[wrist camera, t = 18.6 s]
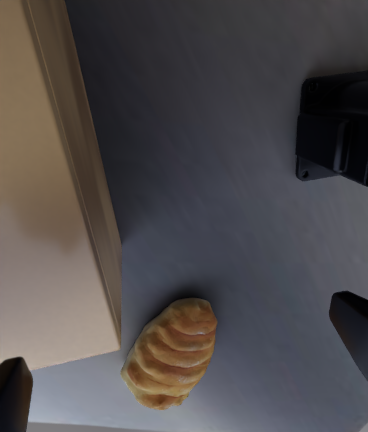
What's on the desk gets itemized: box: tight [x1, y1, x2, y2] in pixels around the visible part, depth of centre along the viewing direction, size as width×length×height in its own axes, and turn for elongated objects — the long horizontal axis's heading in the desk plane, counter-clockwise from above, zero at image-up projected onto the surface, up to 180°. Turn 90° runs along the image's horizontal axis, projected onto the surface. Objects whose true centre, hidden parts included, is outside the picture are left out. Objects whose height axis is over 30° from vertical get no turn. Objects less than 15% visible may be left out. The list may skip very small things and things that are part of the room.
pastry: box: [121, 298, 217, 410], centre depth 23 cm, size 9×7×4 cm
